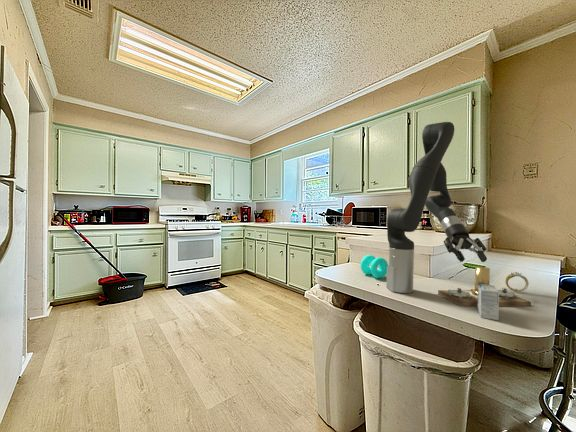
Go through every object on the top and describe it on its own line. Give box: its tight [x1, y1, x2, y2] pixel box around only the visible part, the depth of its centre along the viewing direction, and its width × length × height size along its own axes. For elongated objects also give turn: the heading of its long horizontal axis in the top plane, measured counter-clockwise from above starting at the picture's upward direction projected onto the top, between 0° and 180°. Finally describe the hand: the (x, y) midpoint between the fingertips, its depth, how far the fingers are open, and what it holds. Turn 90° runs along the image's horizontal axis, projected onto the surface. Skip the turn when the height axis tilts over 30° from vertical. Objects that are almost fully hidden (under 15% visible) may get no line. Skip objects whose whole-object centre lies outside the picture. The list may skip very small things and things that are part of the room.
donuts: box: [360, 254, 389, 279], centre depth 123 cm, size 10×10×10 cm
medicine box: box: [477, 284, 500, 321], centre depth 78 cm, size 8×4×9 cm, turn 148°
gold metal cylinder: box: [470, 266, 491, 296], centre depth 92 cm, size 7×6×10 cm
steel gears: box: [448, 287, 519, 299], centre depth 92 cm, size 24×7×3 cm, turn 92°
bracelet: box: [504, 271, 530, 293], centre depth 101 cm, size 7×3×8 cm, turn 56°
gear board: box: [437, 289, 532, 307], centre depth 92 cm, size 25×12×2 cm, turn 92°
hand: (473, 260), depth 95 cm, fingers open, 8 cm apart
